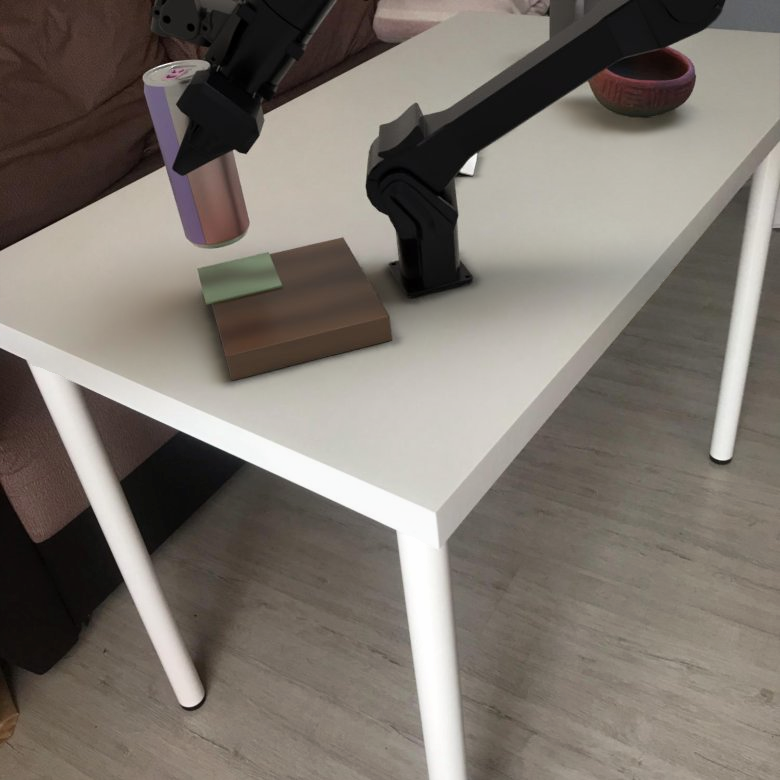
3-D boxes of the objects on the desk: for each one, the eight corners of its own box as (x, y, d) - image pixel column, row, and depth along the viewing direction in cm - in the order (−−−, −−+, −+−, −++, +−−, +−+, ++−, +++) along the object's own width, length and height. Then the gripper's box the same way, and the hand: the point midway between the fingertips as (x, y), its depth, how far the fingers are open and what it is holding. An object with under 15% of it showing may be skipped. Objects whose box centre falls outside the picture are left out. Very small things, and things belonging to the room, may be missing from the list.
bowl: (696, 96, 112) (703, 32, 108) (687, 133, 103) (694, 65, 98) (572, 94, 118) (573, 33, 113) (553, 129, 108) (553, 64, 104)
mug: (551, 51, 134) (552, -33, 127) (612, 49, 132) (616, -37, 124) (544, 80, 123) (544, -10, 116) (610, 78, 121) (615, -14, 114)
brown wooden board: (392, 340, 74) (389, 313, 72) (226, 382, 72) (218, 355, 70) (346, 259, 87) (343, 234, 85) (203, 292, 84) (196, 268, 83)
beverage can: (177, 251, 78) (127, 84, 69) (201, 221, 83) (158, 60, 74) (238, 250, 77) (196, 80, 68) (259, 220, 81) (223, 56, 72)
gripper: (215, -83, 72) (126, 67, 80) (170, -37, 58) (66, 142, 65) (324, 5, 77) (230, 140, 84) (308, 70, 62) (195, 226, 69)
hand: (184, 158), depth 75 cm, fingers closed on beverage can, 6 cm apart
